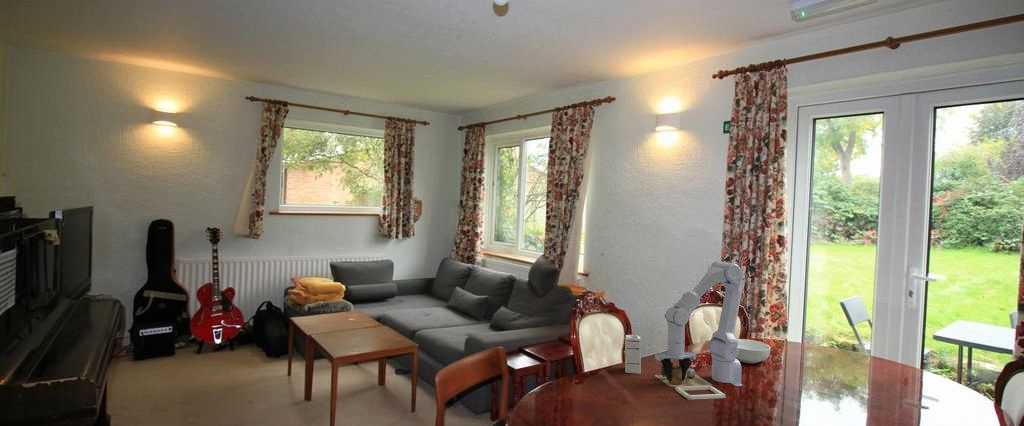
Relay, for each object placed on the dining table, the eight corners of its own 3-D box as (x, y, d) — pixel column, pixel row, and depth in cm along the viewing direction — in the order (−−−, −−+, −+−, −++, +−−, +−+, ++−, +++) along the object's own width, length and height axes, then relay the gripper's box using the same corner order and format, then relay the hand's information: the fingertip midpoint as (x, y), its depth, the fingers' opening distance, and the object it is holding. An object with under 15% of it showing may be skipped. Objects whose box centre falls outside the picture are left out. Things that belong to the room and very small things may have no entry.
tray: (710, 392, 171) (710, 385, 171) (725, 402, 163) (725, 394, 163) (675, 394, 169) (675, 386, 169) (688, 404, 161) (688, 396, 161)
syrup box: (641, 377, 186) (641, 338, 186) (624, 376, 187) (625, 337, 187) (640, 372, 191) (640, 335, 191) (624, 371, 193) (625, 334, 193)
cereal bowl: (717, 357, 214) (717, 341, 214) (744, 353, 221) (744, 337, 221) (751, 369, 198) (751, 351, 198) (779, 364, 205) (779, 347, 205)
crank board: (694, 377, 187) (694, 372, 187) (712, 389, 175) (712, 383, 175) (654, 379, 184) (654, 374, 184) (669, 390, 172) (669, 385, 172)
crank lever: (692, 374, 184) (692, 363, 184) (696, 377, 181) (696, 366, 181) (658, 375, 182) (659, 364, 182) (662, 378, 179) (663, 367, 179)
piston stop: (678, 380, 179) (678, 365, 179) (684, 384, 174) (684, 369, 174) (666, 381, 178) (666, 365, 178) (672, 385, 174) (672, 369, 174)
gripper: (661, 345, 171) (661, 384, 171) (701, 343, 173) (700, 382, 173) (652, 339, 178) (652, 377, 178) (690, 338, 180) (690, 376, 180)
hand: (675, 379), depth 176 cm, fingers closed on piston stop, 4 cm apart
